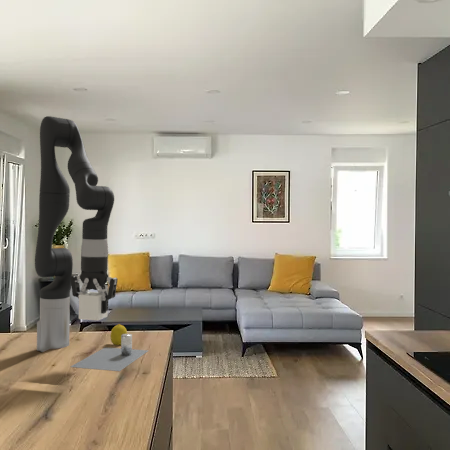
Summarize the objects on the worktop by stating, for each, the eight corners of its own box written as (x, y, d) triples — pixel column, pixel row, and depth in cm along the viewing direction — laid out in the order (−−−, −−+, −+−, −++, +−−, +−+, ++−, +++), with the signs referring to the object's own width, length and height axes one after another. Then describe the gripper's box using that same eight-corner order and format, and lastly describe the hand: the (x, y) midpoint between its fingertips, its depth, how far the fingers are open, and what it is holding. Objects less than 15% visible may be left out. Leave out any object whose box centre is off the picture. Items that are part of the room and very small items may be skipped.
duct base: (69, 372, 141) (70, 366, 141) (105, 351, 162) (105, 347, 162) (119, 376, 137) (119, 371, 137) (148, 355, 159) (148, 350, 159)
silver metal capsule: (119, 355, 153) (119, 335, 153) (123, 352, 156) (124, 333, 156) (129, 356, 152) (129, 336, 152) (133, 353, 155) (133, 334, 155)
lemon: (129, 345, 170) (129, 322, 170) (124, 350, 164) (124, 325, 164) (113, 345, 171) (113, 321, 170) (108, 349, 165) (108, 325, 165)
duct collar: (78, 319, 143) (79, 294, 143) (88, 315, 149) (89, 291, 149) (97, 320, 142) (98, 296, 142) (107, 316, 148) (107, 292, 148)
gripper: (65, 254, 143) (64, 313, 143) (111, 256, 140) (110, 316, 140) (78, 252, 150) (77, 308, 151) (123, 254, 147) (121, 311, 148)
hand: (93, 312), depth 145 cm, fingers closed on duct collar, 6 cm apart
